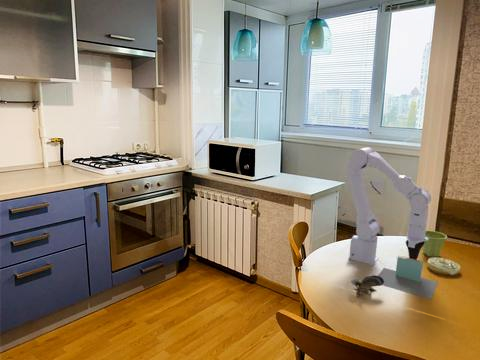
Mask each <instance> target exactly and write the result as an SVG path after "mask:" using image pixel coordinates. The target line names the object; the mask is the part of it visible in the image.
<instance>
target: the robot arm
mask: <svg viewBox="0 0 480 360" xmlns="http://www.w3.org/2000/svg"><path fill="white" fill-rule="evenodd" d="M368 167H369V168H376V169H377V170H378V171H379V172H381V173H382V174H383V175H385V177H387V178H388V179H390V181H391V182H393V187H394V189H396V190H397V192H399V193H400V194H401V195H402V196H403V197H404V198H406V199H407V200H408V204H409V205H410V211H409V217H408V223H407V224H408V225H407V234H406V237H405V238H406V241H405V245H406V247H407V250H408V252H407V253H408V258H411V259H415V260H418V258H419V254H420V251H421V249H423V245H424V243H425V242H424V241H428V239H429V238H427V237H425V233H426V231H427V223H428V216H429V213H428V212H429V204H430V203H431V201H432V196H431V194H430V193H429V191H428V190H426V189H423V187H422V186H419V185H417V184H416V183H415V182H414V181H413V178H412V177H411V176H407V175H401V174H400V173H398V172H397V170H396V169H394V167H393V166H391V165H390V164H389V162H388V161H386V160H385V159H384V157H382V156H381V154H379V153H378V152H377V151H375V149H373V148H372V147H370V146H369V147H368V146H366V147H365V146H364V147H363V148H357V149H354V150H353V151H352V152H351V153H350V155H349V156H348V163H347V167H346V176H347V179H348V185H349V188H350V191H351V195H352V200H353V203H354V207H355V211H356V214H357V217H356V222H355V224H356V228H355V229H356V230H355V233H356V235H355V234H354V235H353V236H352V237H351V240H350V246H349V255H348V256H349V257H348V260H351V261H355V262H356V261H357V262H360V263H365V264H367V265H372V266H373V265H374V264H375V263H376V262H377V261H378V260H379V257H378V256H377V247H378V245H377V244H378V235H377V234H379V233H380V231H381V224H380V223H379V221H378V220H377V217H376V215H375V214H374V213H373V212H372V209H371V205H370V201H369V197H368V194H367V190H366V186H365V183H364V182H365V181H364V179H363V172H364V170H365V169H366V168H368Z"/></svg>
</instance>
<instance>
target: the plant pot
mask: <svg viewBox="0 0 480 360" xmlns="http://www.w3.org/2000/svg"><path fill="white" fill-rule="evenodd" d="M425 237H427V238H429V239H428V241H424V242H425V243H424V245H423V247H422V254H424V255H425V256H428V257H430V258H435V257H436V258H440V255H441V251H442V248H443V246H444V244H445V243H444V242H445V241H446V239H447V238H448V236H447V234H445V233H443V232H440V231H434V230H426V233H425Z"/></svg>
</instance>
